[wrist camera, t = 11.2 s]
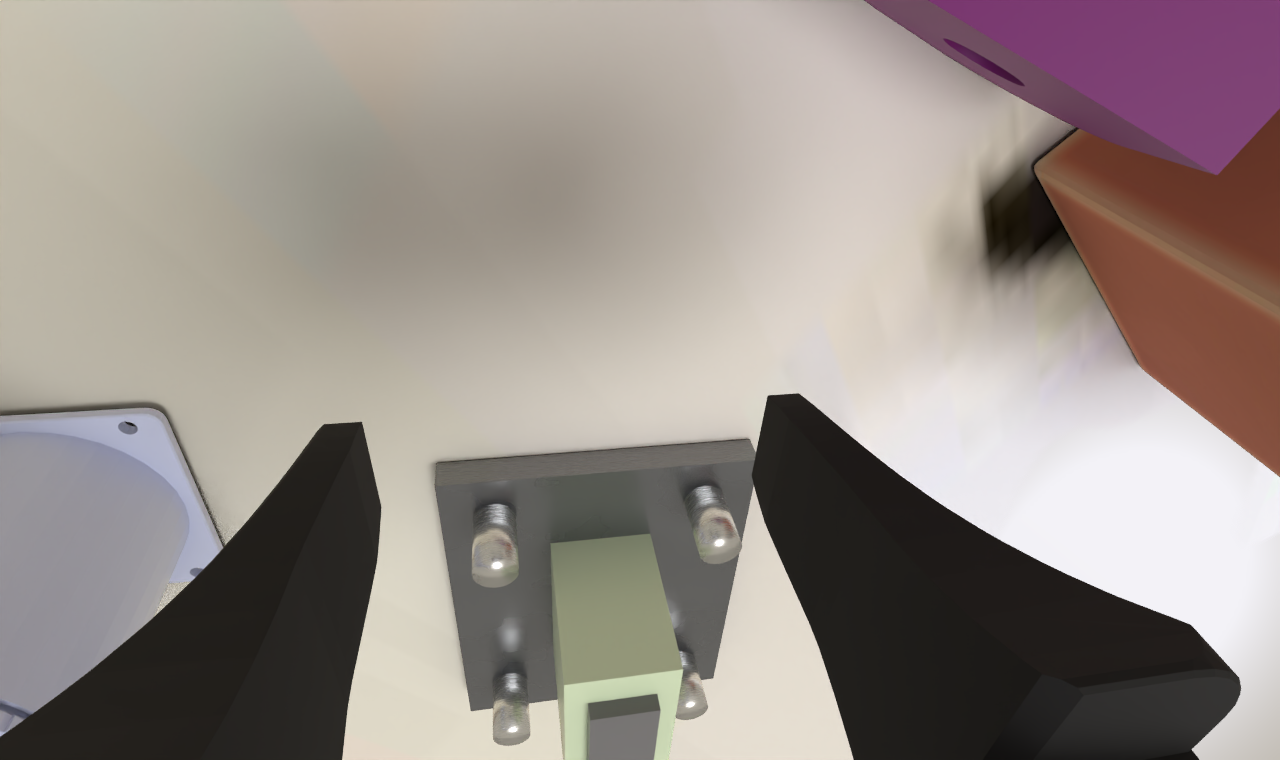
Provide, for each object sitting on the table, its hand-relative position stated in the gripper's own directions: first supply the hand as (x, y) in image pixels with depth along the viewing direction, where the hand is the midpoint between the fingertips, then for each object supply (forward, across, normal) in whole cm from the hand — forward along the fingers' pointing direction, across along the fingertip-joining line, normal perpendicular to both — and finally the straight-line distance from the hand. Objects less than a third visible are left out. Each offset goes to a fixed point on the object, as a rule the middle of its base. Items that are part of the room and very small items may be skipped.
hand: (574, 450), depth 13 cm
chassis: (+10, -2, +17) cm, 20 cm away
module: (+9, -2, +17) cm, 19 cm away
